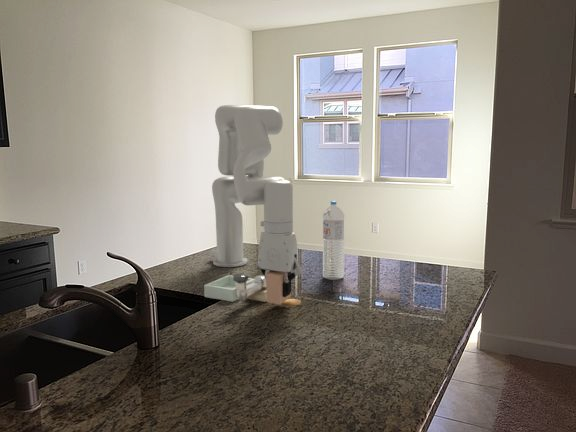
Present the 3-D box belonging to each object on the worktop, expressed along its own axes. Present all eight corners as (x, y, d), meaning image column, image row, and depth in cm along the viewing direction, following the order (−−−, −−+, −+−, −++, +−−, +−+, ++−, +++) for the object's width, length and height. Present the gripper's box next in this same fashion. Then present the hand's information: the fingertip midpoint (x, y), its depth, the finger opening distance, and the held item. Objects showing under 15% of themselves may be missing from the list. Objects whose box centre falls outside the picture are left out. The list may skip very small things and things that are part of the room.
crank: (258, 284, 143) (258, 264, 142) (270, 286, 141) (270, 266, 140) (230, 298, 131) (230, 276, 130) (243, 300, 129) (242, 278, 128)
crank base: (246, 299, 140) (246, 289, 139) (258, 293, 145) (258, 284, 144) (294, 307, 132) (294, 297, 132) (305, 301, 137) (305, 291, 137)
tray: (204, 296, 142) (204, 285, 141) (229, 285, 152) (228, 274, 152) (232, 302, 137) (232, 290, 137) (256, 290, 147) (255, 279, 147)
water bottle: (344, 280, 157) (345, 202, 153) (323, 280, 157) (323, 202, 153) (342, 274, 163) (343, 199, 159) (322, 274, 164) (322, 200, 160)
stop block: (267, 302, 131) (265, 273, 129) (278, 294, 136) (277, 266, 134) (280, 304, 129) (278, 275, 127) (291, 296, 134) (290, 268, 132)
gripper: (243, 226, 130) (245, 293, 133) (300, 233, 122) (300, 303, 125) (259, 222, 136) (260, 285, 139) (313, 227, 128) (313, 295, 131)
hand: (278, 293), depth 132 cm, fingers closed on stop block, 4 cm apart
